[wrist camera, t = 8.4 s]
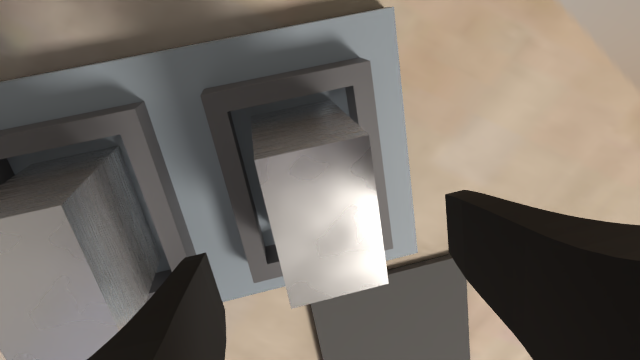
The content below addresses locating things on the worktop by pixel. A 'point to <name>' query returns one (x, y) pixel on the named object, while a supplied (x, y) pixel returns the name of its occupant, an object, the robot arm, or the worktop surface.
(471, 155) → the worktop surface
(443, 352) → the mat
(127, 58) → the pallet
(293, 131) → the metal billet
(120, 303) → the block
